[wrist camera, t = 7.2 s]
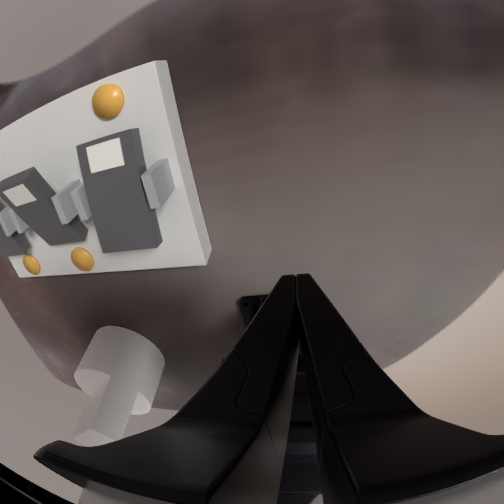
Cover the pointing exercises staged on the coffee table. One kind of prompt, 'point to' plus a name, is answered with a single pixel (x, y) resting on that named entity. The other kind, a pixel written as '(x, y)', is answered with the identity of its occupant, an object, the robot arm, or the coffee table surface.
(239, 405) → the robot arm
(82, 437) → the cylinder with rectangular tab
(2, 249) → the switch
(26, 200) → the switch
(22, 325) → the coffee table surface
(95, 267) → the switch panel
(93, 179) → the switch
